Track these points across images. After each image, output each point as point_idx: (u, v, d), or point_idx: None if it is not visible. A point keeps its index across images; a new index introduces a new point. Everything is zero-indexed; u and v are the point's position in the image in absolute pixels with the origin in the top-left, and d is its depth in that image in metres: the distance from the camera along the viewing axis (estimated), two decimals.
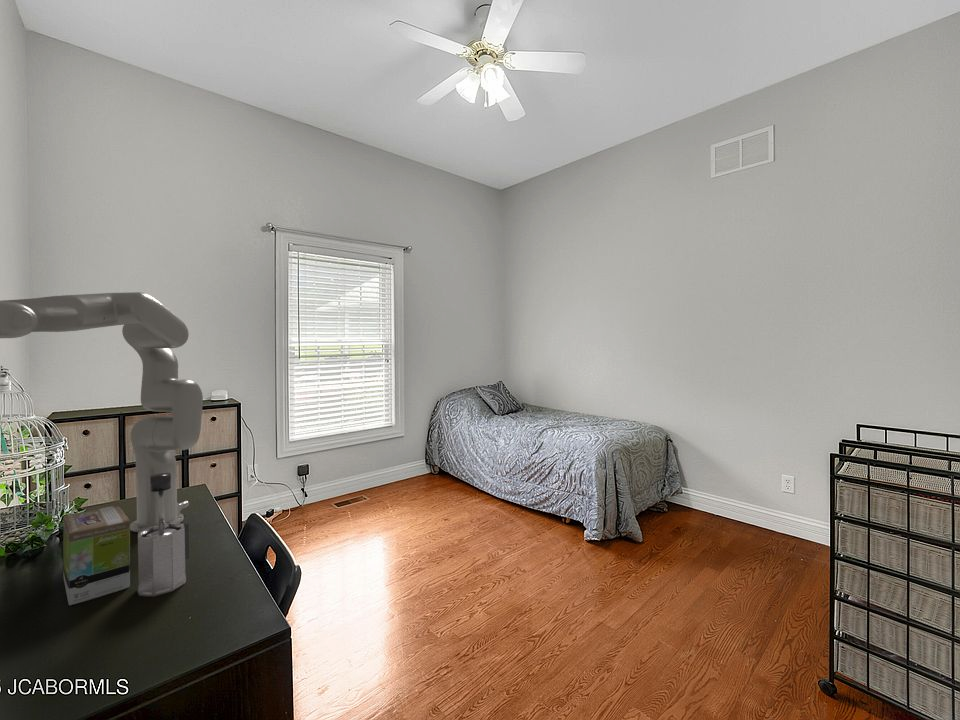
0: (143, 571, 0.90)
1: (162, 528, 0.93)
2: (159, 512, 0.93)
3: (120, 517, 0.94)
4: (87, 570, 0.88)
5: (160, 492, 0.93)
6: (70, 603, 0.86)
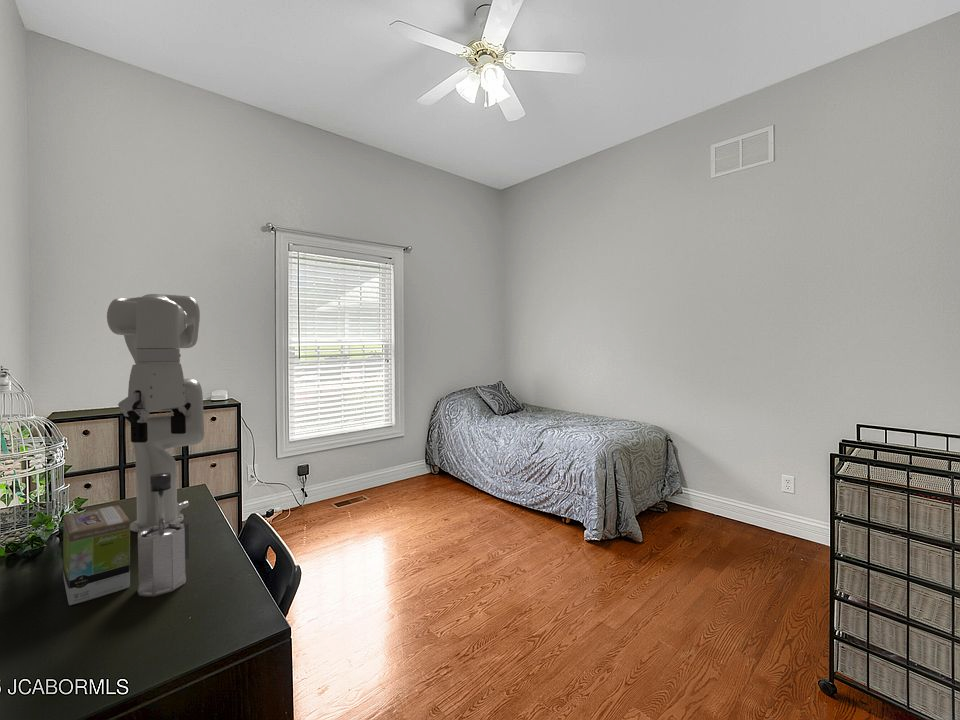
0: (143, 571, 0.90)
1: (162, 528, 0.93)
2: (159, 512, 0.93)
3: (120, 517, 0.94)
4: (87, 570, 0.88)
5: (160, 492, 0.93)
6: (70, 603, 0.86)
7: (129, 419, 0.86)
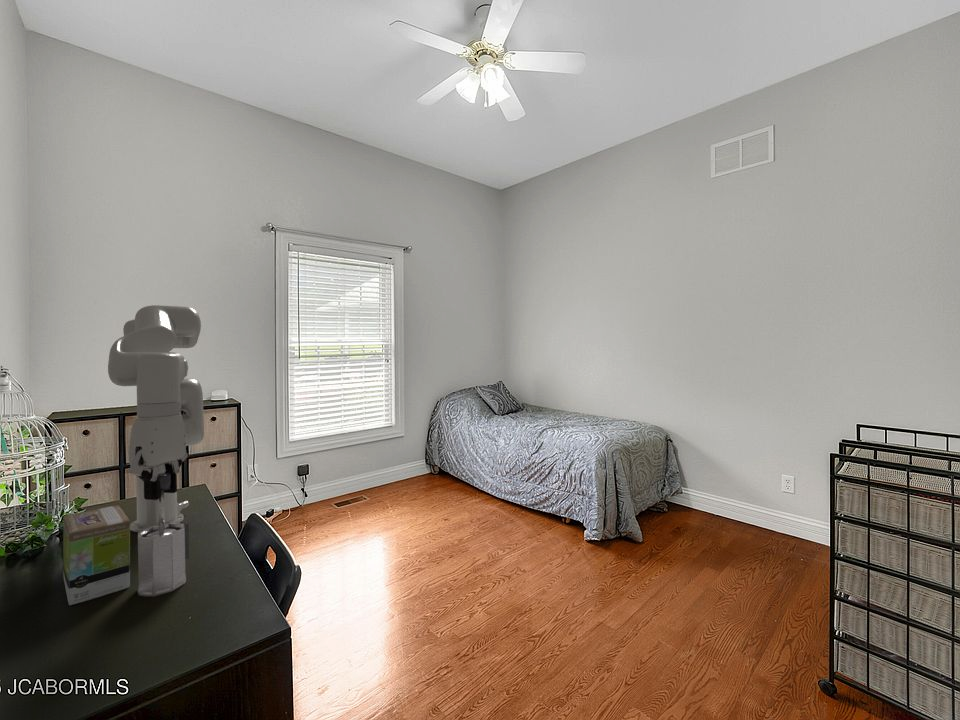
0: (143, 571, 0.90)
1: (162, 528, 0.93)
2: (159, 512, 0.93)
3: (120, 517, 0.94)
4: (87, 570, 0.88)
5: (160, 492, 0.93)
6: (70, 603, 0.86)
7: (142, 478, 0.89)
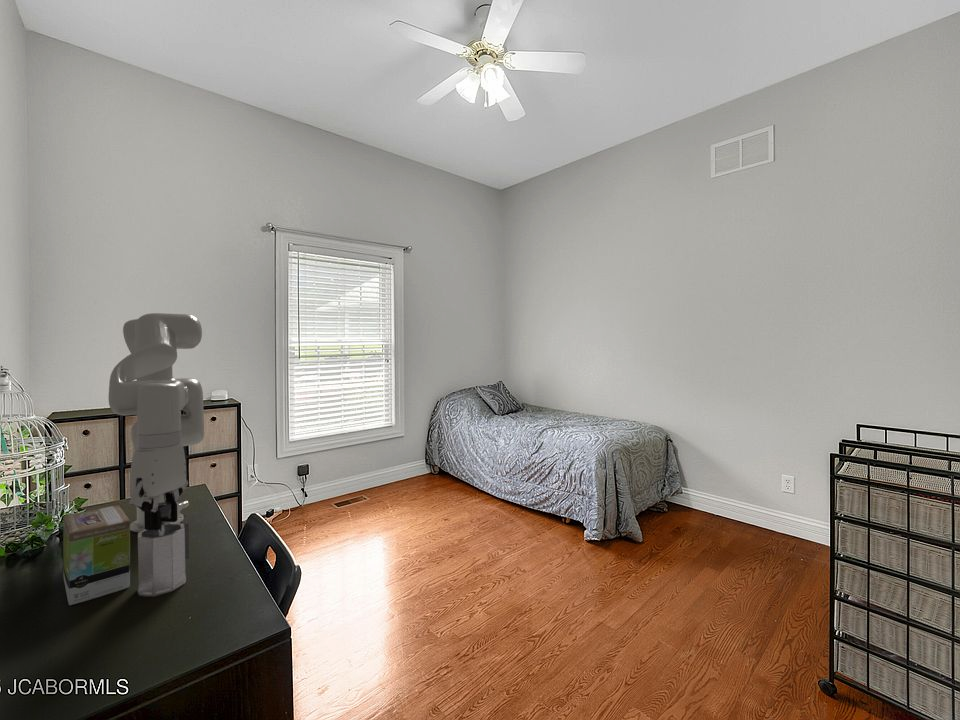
0: (143, 571, 0.90)
1: None
2: None
3: (120, 517, 0.94)
4: (87, 570, 0.88)
5: (161, 522, 0.93)
6: (70, 603, 0.86)
7: (143, 509, 0.89)
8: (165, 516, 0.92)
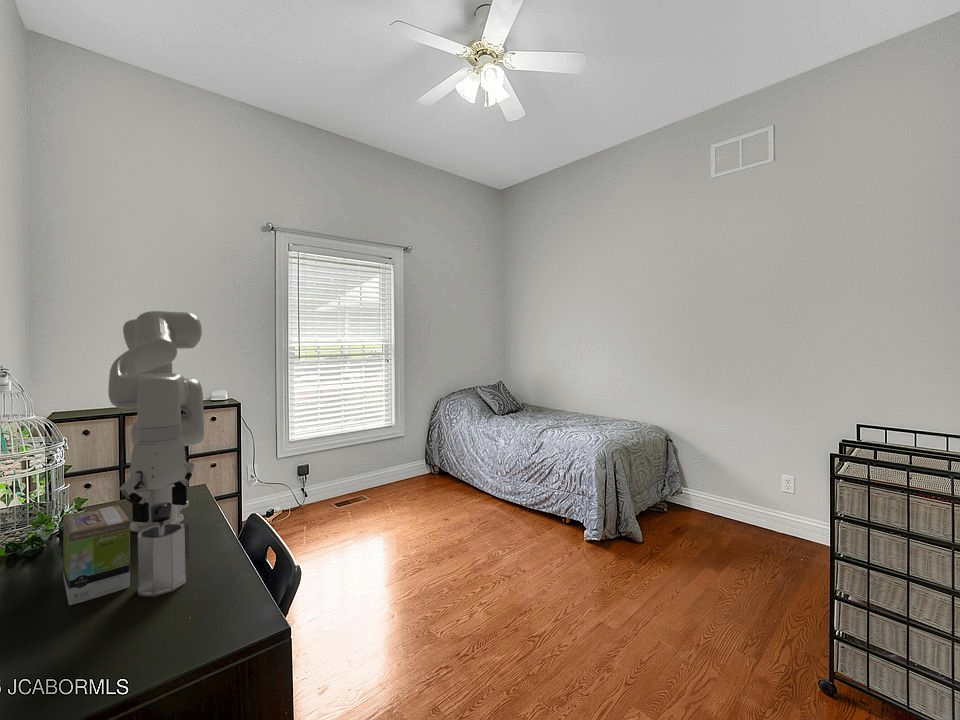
0: (143, 571, 0.90)
1: None
2: None
3: (120, 517, 0.94)
4: (87, 570, 0.88)
5: (161, 522, 0.93)
6: (70, 603, 0.86)
7: (131, 501, 0.87)
8: (165, 516, 0.92)
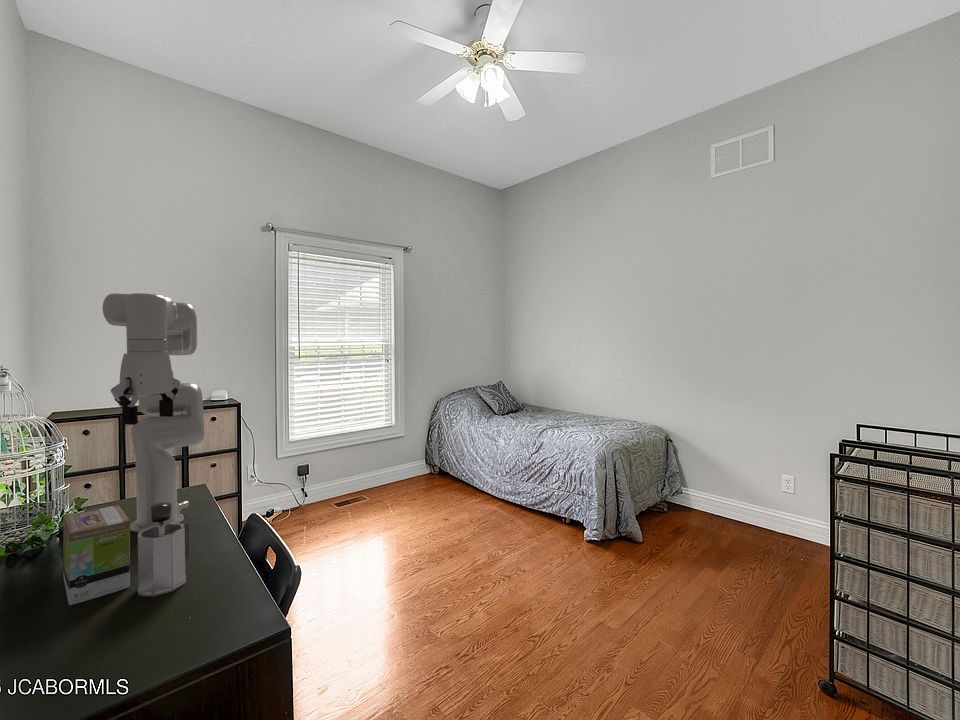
0: (143, 571, 0.90)
1: None
2: None
3: (120, 517, 0.94)
4: (87, 570, 0.88)
5: (161, 522, 0.93)
6: (70, 603, 0.86)
7: (121, 403, 0.95)
8: (165, 516, 0.92)
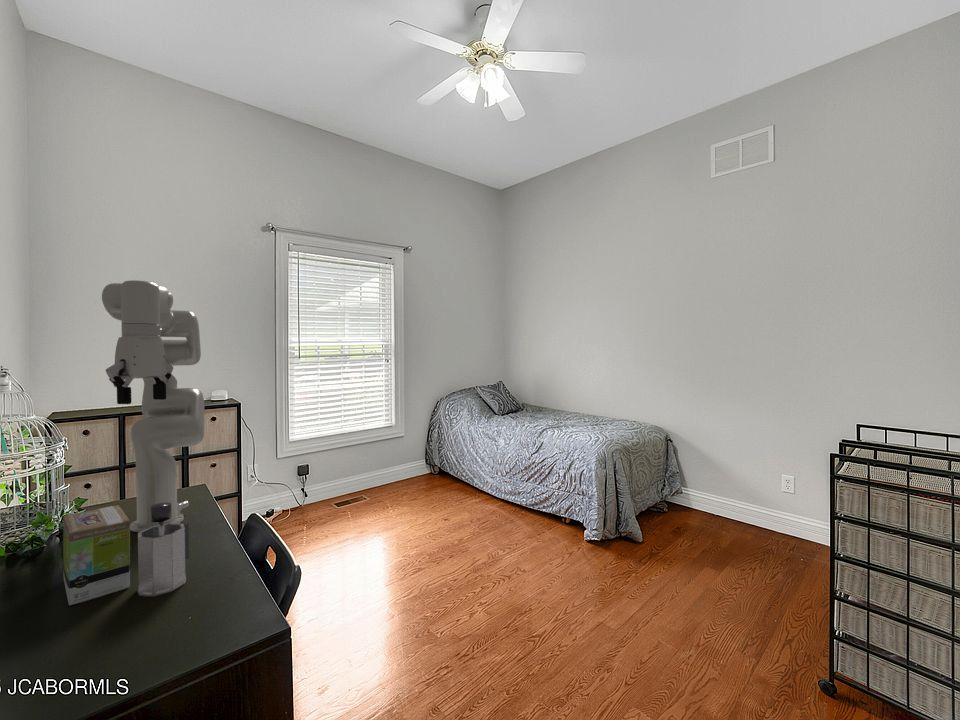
0: (143, 571, 0.90)
1: None
2: None
3: (120, 517, 0.94)
4: (87, 570, 0.88)
5: (161, 522, 0.93)
6: (70, 603, 0.86)
7: (115, 383, 1.00)
8: (165, 516, 0.92)
